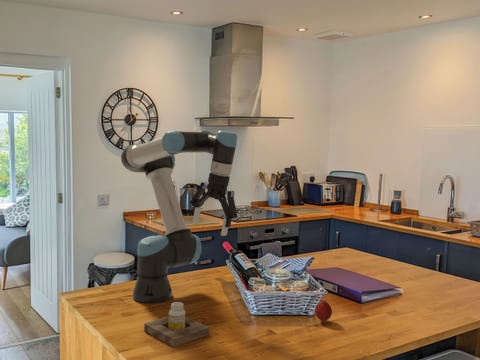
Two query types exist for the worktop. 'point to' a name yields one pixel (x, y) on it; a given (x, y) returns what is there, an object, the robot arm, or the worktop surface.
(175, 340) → the socket block
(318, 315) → the onion
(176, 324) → the supplement bottle
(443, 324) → the worktop surface
